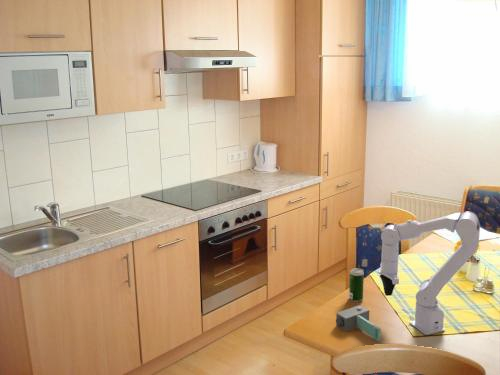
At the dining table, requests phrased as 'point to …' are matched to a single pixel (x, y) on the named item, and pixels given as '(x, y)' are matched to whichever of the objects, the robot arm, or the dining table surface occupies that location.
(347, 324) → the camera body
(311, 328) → the dining table surface
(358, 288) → the beer can
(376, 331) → the side door
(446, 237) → the dining table surface
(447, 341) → the dining table surface
